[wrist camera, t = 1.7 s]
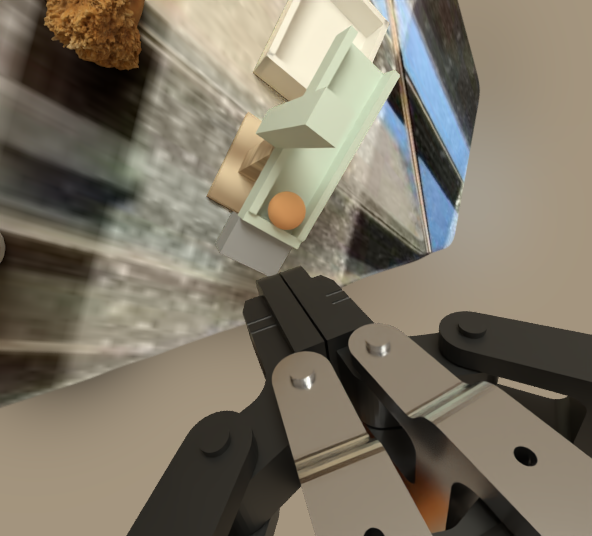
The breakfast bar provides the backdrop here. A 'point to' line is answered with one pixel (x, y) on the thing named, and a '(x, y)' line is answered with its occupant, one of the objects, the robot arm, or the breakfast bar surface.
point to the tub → (315, 40)
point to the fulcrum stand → (241, 166)
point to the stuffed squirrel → (98, 29)
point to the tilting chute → (307, 152)
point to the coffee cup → (2, 247)
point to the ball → (286, 210)
